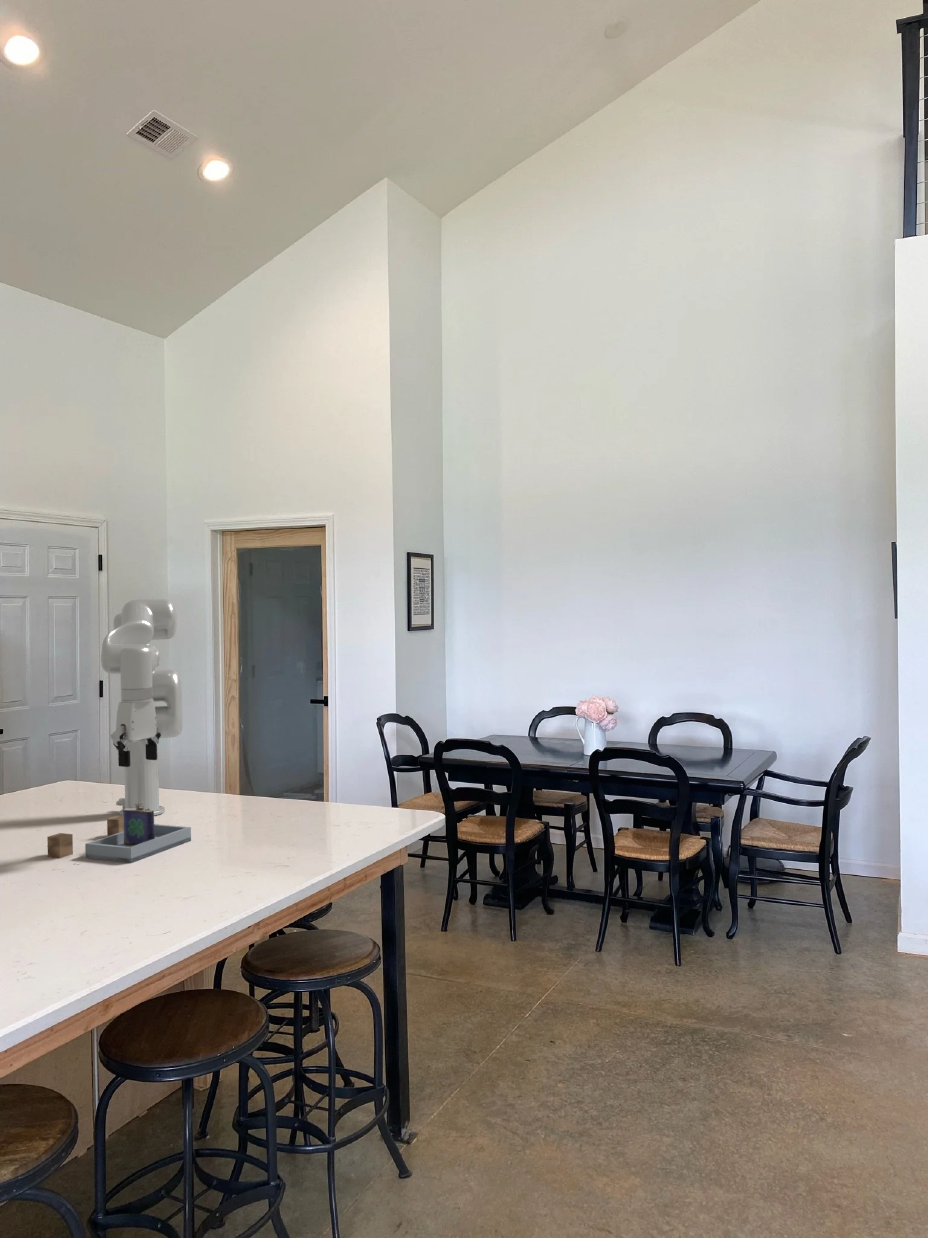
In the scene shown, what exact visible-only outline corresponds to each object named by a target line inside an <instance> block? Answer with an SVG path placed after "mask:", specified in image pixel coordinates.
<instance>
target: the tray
mask: <svg viewBox="0 0 928 1238" xmlns="http://www.w3.org/2000/svg"><path fill="white" fill-rule="evenodd" d="M154 832H155V839H152V840H149V841H146V842H143V843H140V844H138V845H135V846H132V845H125V844H124V831H123V832H120V833H117V834H114V835H111V836H107V835H106V836H105V837H102V838H99V839H96V840H93V841H90V842H86V843H85V847H84V851H85V852H84V853H85V859H92V860H101V861H109V862H118V863H119V862H120V863H128V864H132V863H135V862H139V861H140V860H143V859H146V858H148V857H151V856H154V855H156V854H159V853H162V852H165V851H167V850H170V849H173V848H176V847H178V846H181V845H183V844H186V843H189V842H191V841H192V827H191V826H181V825H180V826H179V825H170V824H158V823H154Z"/></svg>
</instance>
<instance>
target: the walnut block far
mask: <svg viewBox="0 0 928 1238" xmlns="http://www.w3.org/2000/svg"><path fill="white" fill-rule="evenodd" d="M106 826H107V827H106V831H107V832H106V833H107V835H106V837H107V836H111V835H114V834H117V833H120V832H123V831H124V818H123V816H120V815H115V816H112V817H108V818H106Z"/></svg>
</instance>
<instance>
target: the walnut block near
mask: <svg viewBox="0 0 928 1238" xmlns="http://www.w3.org/2000/svg"><path fill="white" fill-rule="evenodd" d="M73 839H74V838H73V833H67V832H66V833H65V832H58V833H55V834H52V835H49V836H47V858H55V859H63V858H65V857H68V856H71V855H73V854H74V850H73V848H74V845H73V844H74V843H73V841H74V840H73Z"/></svg>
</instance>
